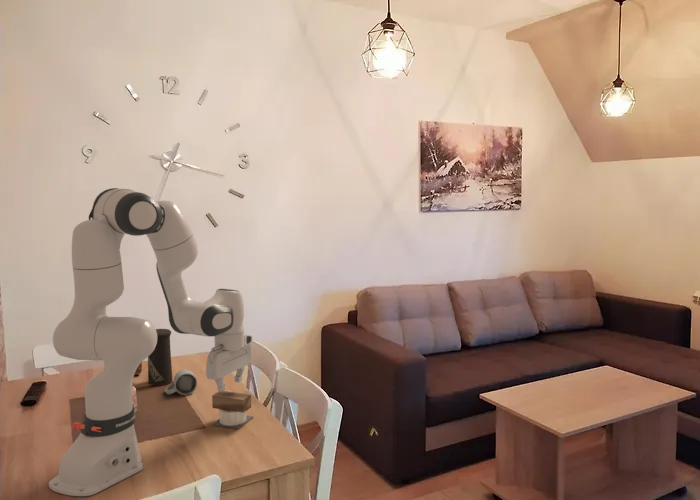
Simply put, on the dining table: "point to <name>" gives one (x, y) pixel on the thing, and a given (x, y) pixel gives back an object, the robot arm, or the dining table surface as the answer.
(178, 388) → the ceramic mug
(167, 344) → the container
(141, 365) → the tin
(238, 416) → the bowl
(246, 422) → the mat
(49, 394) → the dining table surface
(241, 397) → the brown wooden block
